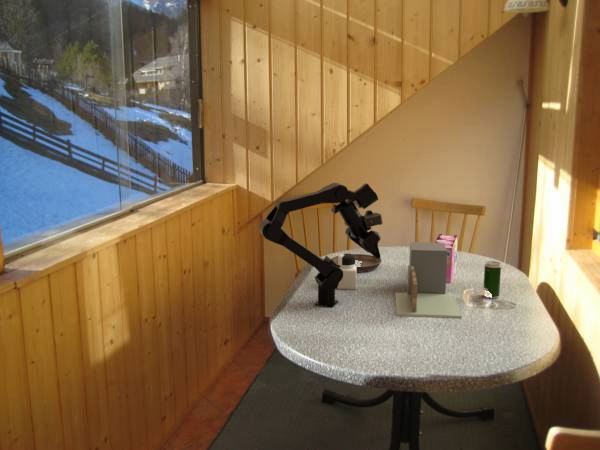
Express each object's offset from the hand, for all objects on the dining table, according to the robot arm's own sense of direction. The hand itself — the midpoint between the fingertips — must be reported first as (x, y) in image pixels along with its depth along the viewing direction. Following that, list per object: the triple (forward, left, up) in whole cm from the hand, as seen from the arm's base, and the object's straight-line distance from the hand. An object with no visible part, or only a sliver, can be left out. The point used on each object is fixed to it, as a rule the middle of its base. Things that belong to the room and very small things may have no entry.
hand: (374, 254), depth 213 cm
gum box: (+40, -17, -16) cm, 46 cm away
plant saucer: (+38, +18, -16) cm, 45 cm away
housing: (+6, -16, -16) cm, 24 cm away
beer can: (+18, -37, -16) cm, 44 cm away
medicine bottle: (+11, +13, -16) cm, 23 cm away
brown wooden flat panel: (-1, -14, -15) cm, 20 cm away
